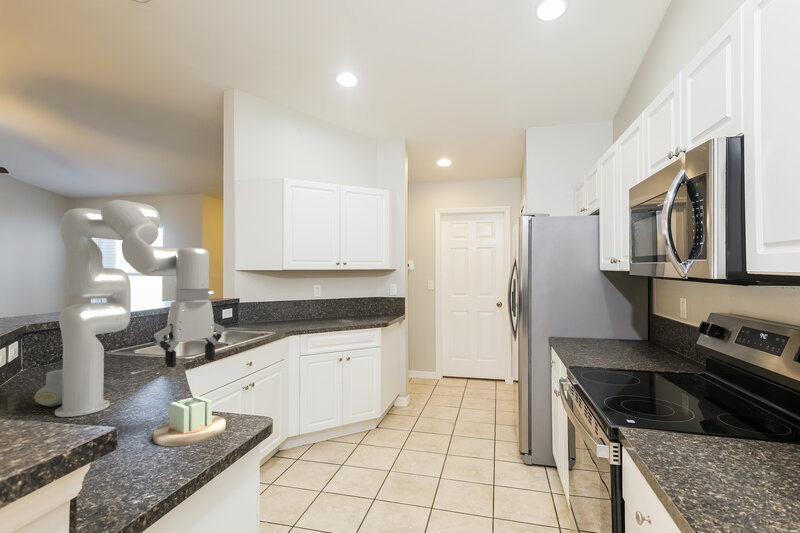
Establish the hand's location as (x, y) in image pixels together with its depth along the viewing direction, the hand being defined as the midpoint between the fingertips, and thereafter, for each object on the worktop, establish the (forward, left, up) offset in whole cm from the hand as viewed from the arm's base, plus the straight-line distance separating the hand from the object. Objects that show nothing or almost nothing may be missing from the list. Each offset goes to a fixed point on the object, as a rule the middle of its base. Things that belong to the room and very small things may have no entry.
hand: (191, 363), depth 98 cm
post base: (0, 0, -17) cm, 17 cm away
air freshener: (-58, -11, -18) cm, 61 cm away
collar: (0, 0, -16) cm, 16 cm away
